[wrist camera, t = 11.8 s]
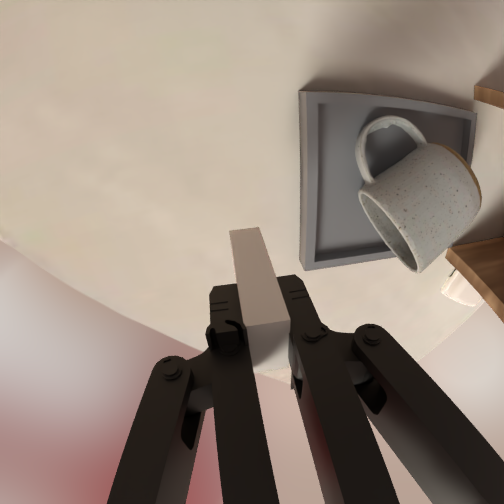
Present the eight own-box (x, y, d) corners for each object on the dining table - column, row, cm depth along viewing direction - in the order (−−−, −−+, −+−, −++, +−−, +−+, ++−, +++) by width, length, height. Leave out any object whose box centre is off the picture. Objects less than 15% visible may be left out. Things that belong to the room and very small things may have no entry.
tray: (298, 91, 18) (305, 91, 17) (464, 109, 20) (476, 113, 18) (299, 259, 26) (304, 271, 25) (442, 238, 28) (451, 247, 26)
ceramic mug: (442, 191, 23) (496, 229, 17) (380, 241, 25) (425, 293, 19) (399, 93, 18) (467, 107, 12) (322, 149, 20) (371, 183, 14)
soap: (436, 290, 33) (447, 305, 30) (465, 248, 30) (478, 261, 27) (464, 301, 35) (474, 313, 33) (489, 265, 32) (501, 277, 30)
